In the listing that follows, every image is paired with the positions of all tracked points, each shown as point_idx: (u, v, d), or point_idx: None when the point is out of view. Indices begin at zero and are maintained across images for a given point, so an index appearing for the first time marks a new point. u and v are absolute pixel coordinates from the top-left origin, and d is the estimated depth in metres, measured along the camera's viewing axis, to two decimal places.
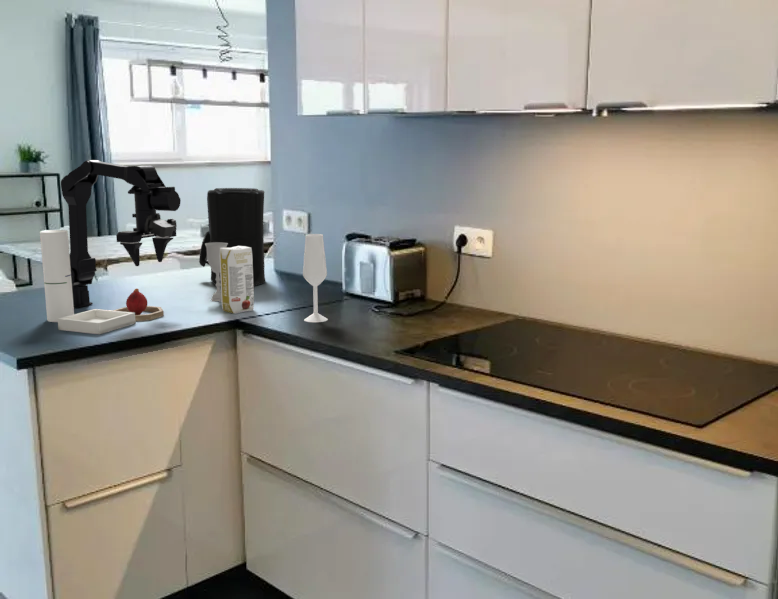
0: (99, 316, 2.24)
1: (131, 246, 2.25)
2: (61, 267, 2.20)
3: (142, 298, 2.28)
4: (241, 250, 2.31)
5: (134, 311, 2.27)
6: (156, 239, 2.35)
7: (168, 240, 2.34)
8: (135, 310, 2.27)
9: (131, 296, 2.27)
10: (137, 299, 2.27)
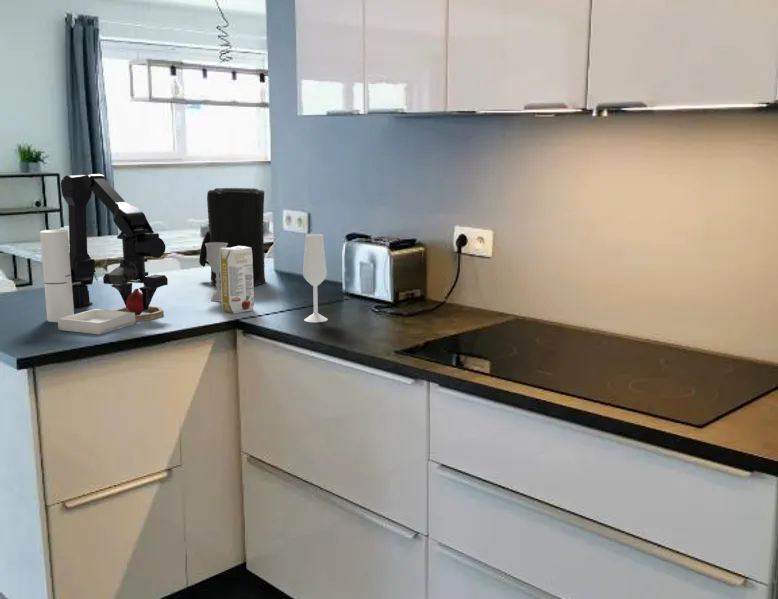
0: (99, 316, 2.24)
1: None
2: (61, 267, 2.20)
3: (142, 298, 2.28)
4: (241, 250, 2.31)
5: (134, 311, 2.27)
6: None
7: (142, 289, 2.24)
8: (135, 310, 2.27)
9: (131, 296, 2.27)
10: (137, 299, 2.27)
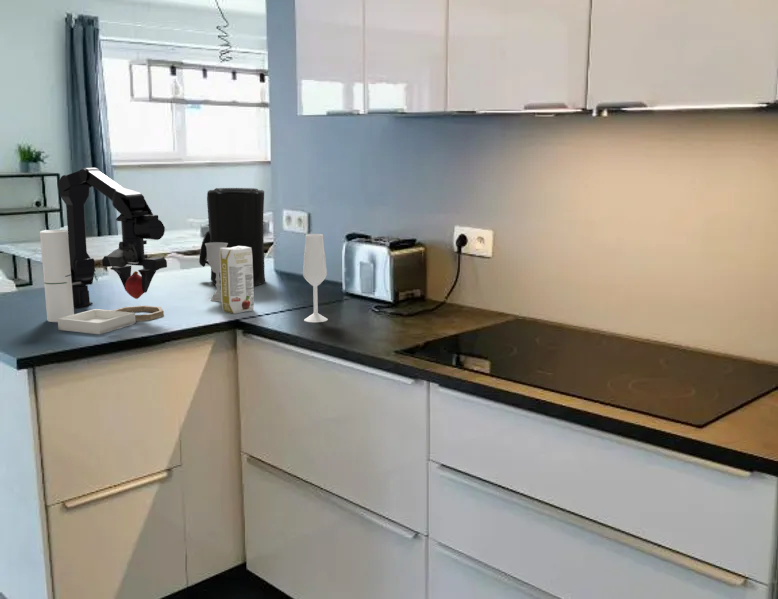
0: (99, 316, 2.24)
1: None
2: (61, 267, 2.20)
3: (141, 281, 2.27)
4: (241, 250, 2.31)
5: (133, 294, 2.26)
6: None
7: (141, 272, 2.23)
8: (134, 292, 2.26)
9: (130, 279, 2.26)
10: (136, 281, 2.26)
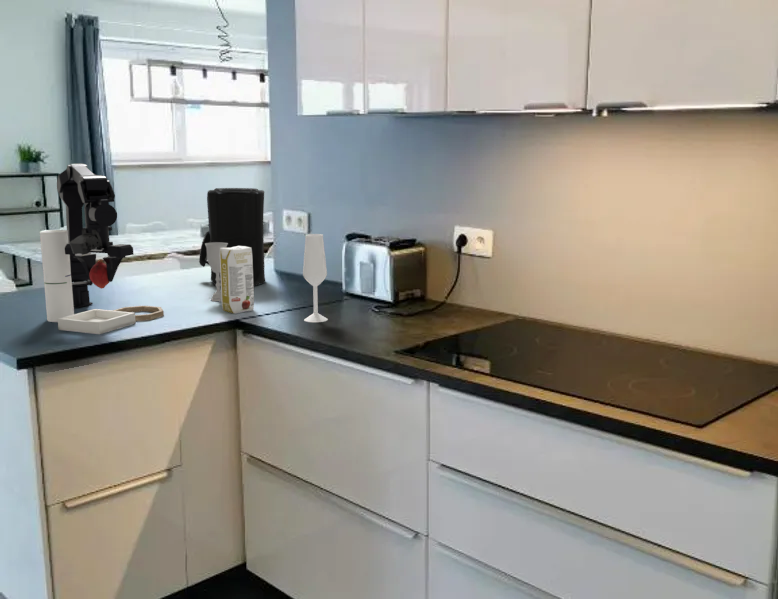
0: (99, 316, 2.24)
1: None
2: (61, 267, 2.20)
3: (106, 269, 2.14)
4: (241, 250, 2.31)
5: (98, 283, 2.14)
6: None
7: (106, 259, 2.11)
8: (98, 281, 2.14)
9: (94, 267, 2.14)
10: (101, 270, 2.13)
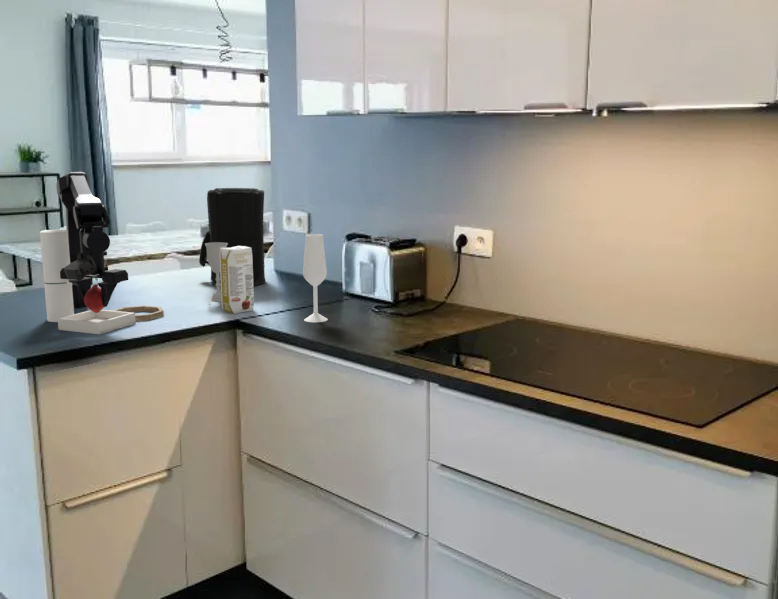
0: (99, 316, 2.24)
1: None
2: (61, 267, 2.20)
3: (101, 294, 2.14)
4: (241, 250, 2.31)
5: (92, 308, 2.14)
6: None
7: (100, 285, 2.11)
8: (93, 306, 2.13)
9: (89, 292, 2.13)
10: (95, 295, 2.13)
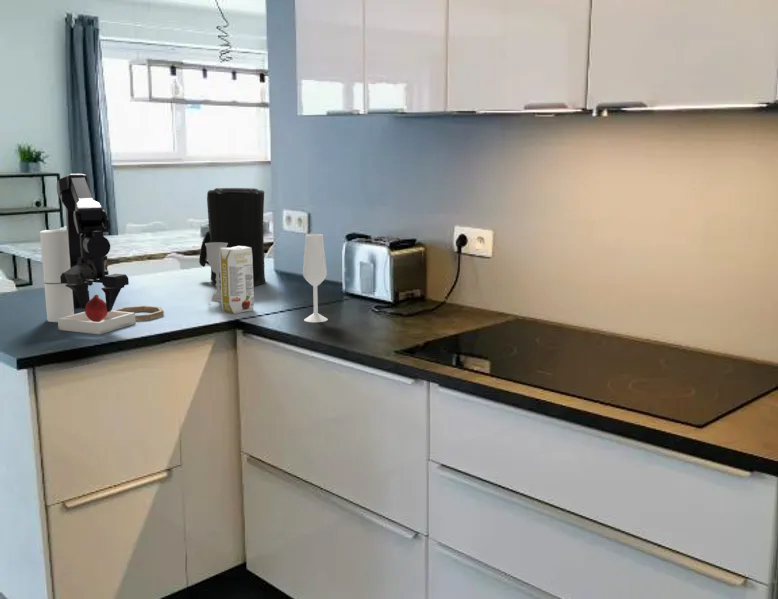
0: None
1: None
2: (61, 267, 2.20)
3: (102, 305, 2.14)
4: (241, 250, 2.31)
5: (93, 319, 2.14)
6: None
7: (104, 290, 2.10)
8: (94, 317, 2.14)
9: (90, 303, 2.13)
10: (96, 306, 2.13)
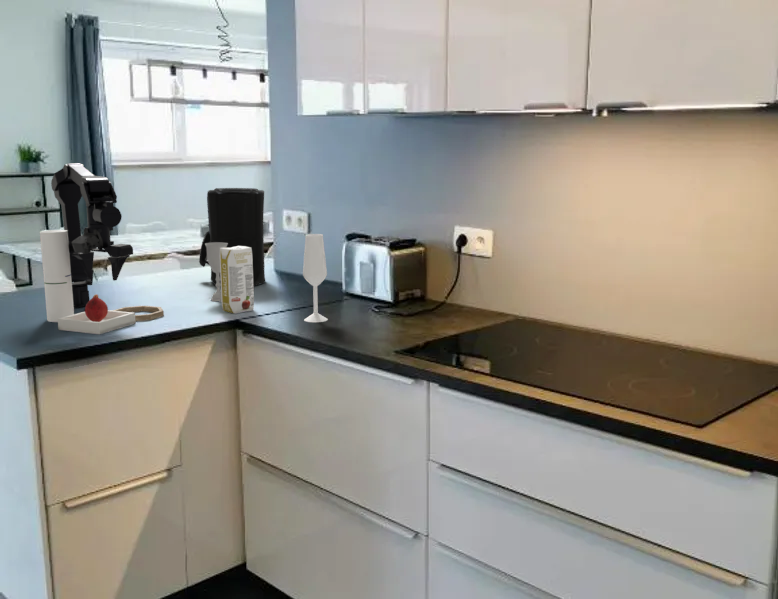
0: None
1: None
2: (61, 267, 2.20)
3: (102, 304, 2.15)
4: (241, 250, 2.31)
5: (93, 318, 2.14)
6: None
7: (110, 259, 2.18)
8: (94, 317, 2.14)
9: (90, 302, 2.14)
10: (96, 305, 2.14)
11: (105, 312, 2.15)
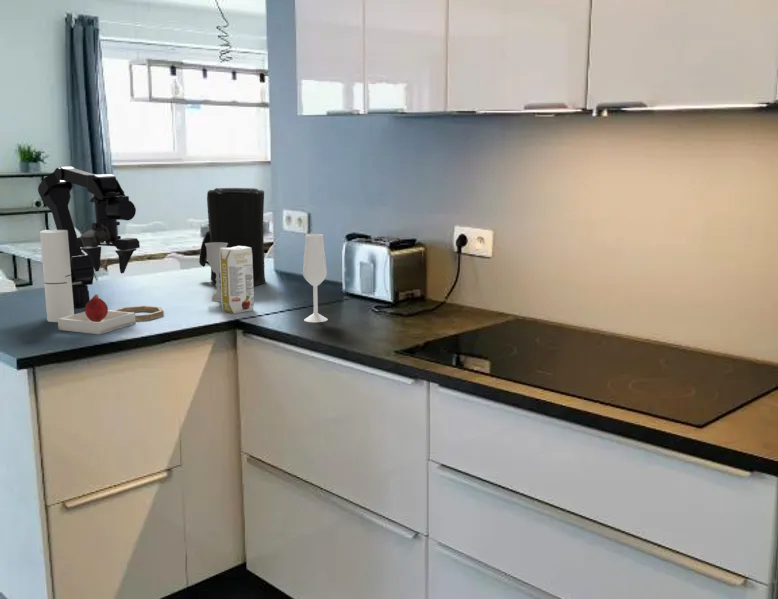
0: None
1: None
2: (61, 267, 2.20)
3: (102, 304, 2.15)
4: (241, 250, 2.31)
5: (93, 318, 2.14)
6: None
7: (118, 252, 2.27)
8: (94, 317, 2.14)
9: (90, 302, 2.14)
10: (96, 305, 2.14)
11: (105, 312, 2.15)
